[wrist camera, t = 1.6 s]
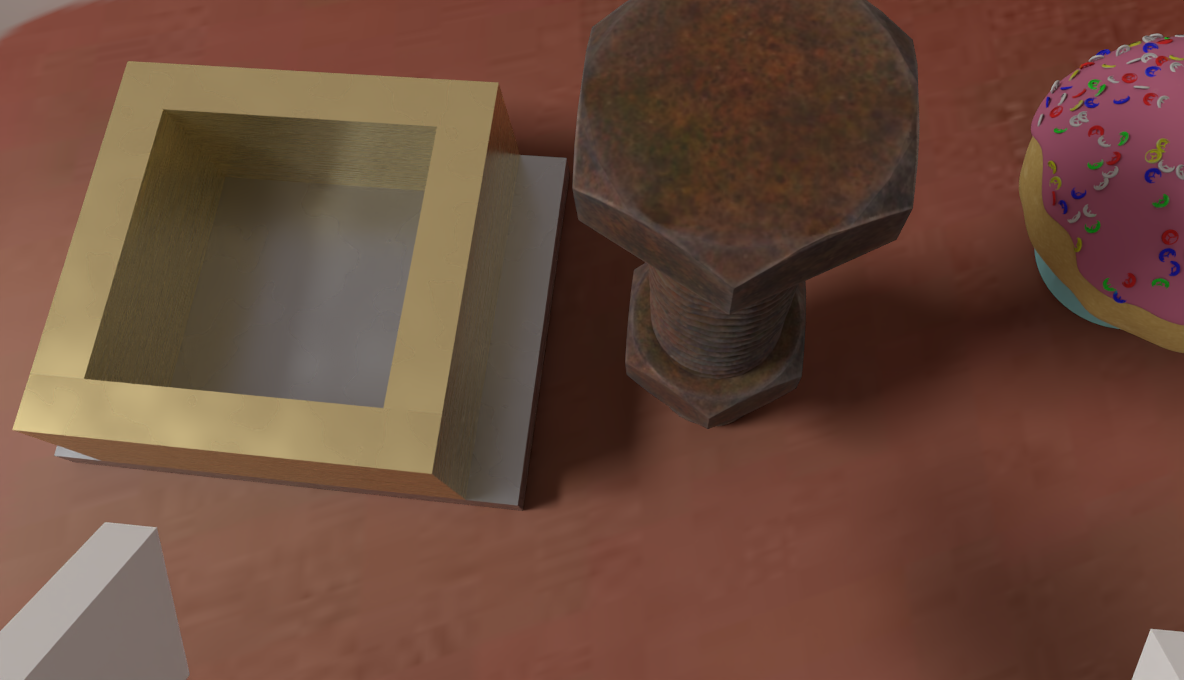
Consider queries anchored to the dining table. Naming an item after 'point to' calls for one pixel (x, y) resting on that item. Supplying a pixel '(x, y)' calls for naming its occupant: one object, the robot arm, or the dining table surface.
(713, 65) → the bolt
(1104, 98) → the cupcake
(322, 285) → the mount
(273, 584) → the dining table surface
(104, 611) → the robot arm
